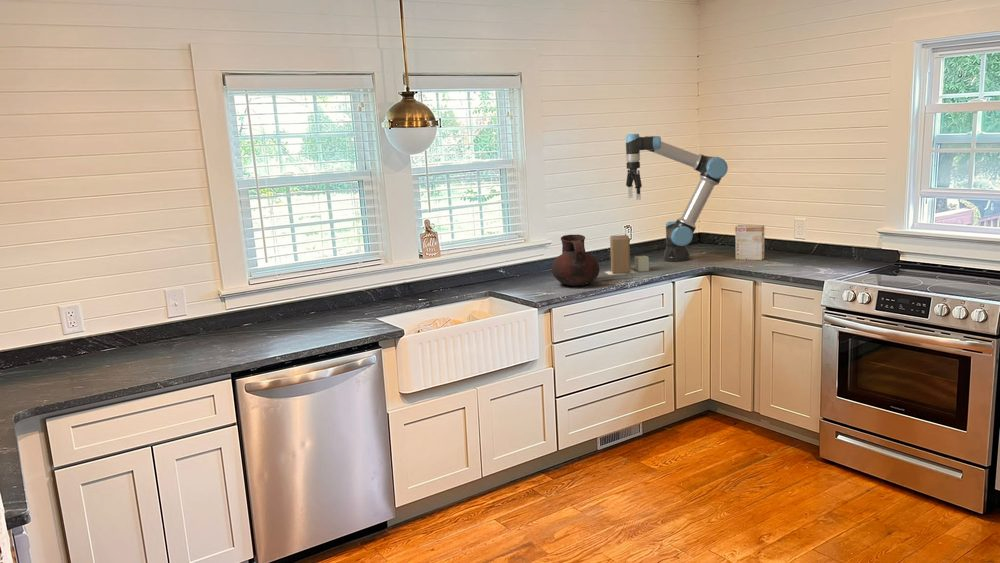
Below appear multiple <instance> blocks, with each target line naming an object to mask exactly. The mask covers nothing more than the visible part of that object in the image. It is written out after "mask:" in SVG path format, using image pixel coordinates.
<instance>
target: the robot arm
mask: <svg viewBox="0 0 1000 563" xmlns="http://www.w3.org/2000/svg"><path fill="white" fill-rule="evenodd" d="M640 151H648V152H652V153H654V154H657V155H660V156H662V157H664V158H667V159H670V160H673V161H676V162H678V163H681V164H683V165H686V166H689V167H691V168H693V170H694V171H696V172H699V173H700V174H699V179H700V180H699V182H698V184H697V185H696V188H695V190H694V192H693V193H692V195H691V197H690V200H689V202H688V203H687V205H686V207H685V210H684V211H683V213H682V215H681V217H678V218H677V219H676V221H667V222H666V223H665V242H666V243H665V246H666V247H665V250H664V254H663V261H666V262H684V261H685V262H686V261H689V260H690V258H691V257H690V252H689V249H688V247H687V246H688V245H689V244H690V243H692V241H693V236H694V232H695V230H696V228H697V227H696V222H697V220H698V219H699V217H700V215H701V213H702V210H704V208H705V205H706V203H707V201H708V199H709V198H710V196H711V194H712V191H713V189H714V187H715V186H717V185H719V184H720V182H721V180H722V178H723V177H725V176H726V174H727V172H728V171H729V170H728V168H729V167H728V163H727V161H726V160H725V159H724V158H722V157H719V156H708V155H704V154H702V153H699V154H697V153H693V152H691V151H688V150H686V149H682V148H680V147H678V146H676V145H675V146H674V145H672V144H670V143H666V142H664V141H662V139H661V136H659V135H650V136H649V135H648V136H647V135H646V136H640V134H639V133H629V134H626V136H625V153H626V154H625V158H626V169H627V176H626V182H625V183H626V184H625V186H626V187H627V199H633V198H634V197H633V196H634V193H633V187H634V185H635V187H634V189H635V190H634V192H635V201H639V200H641V199H642V198H641V188H642V187H643V185H642V181H641V174H640V170H639V169H640V168H641V162H640V160H641V154H640ZM633 183H634V185H633Z"/></svg>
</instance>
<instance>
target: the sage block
mask: <svg viewBox="0 0 1000 563" xmlns="http://www.w3.org/2000/svg"><path fill="white" fill-rule="evenodd" d="M649 262H650V258H649V256H647V255H639V256H636V255H635V256H634V271H636V272H638V273H640V272H649V271H650V263H649Z"/></svg>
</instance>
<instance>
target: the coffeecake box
mask: <svg viewBox="0 0 1000 563" xmlns="http://www.w3.org/2000/svg"><path fill="white" fill-rule="evenodd" d="M734 231H735V232H734V233H735V237H734V238H735V248H734V249H735V250H734V251H735V260H736V261H737V260H738V259H739V260H738V261H740V260H741V261H742V260H743V261H745V260H746V259H747V260H746V261H762V259H763V260H764V259H765V225H764V224H758V225H757V224H756V225H755V224H746V225H745V224H742V225H741V224H738V225H736V226H735V229H734Z"/></svg>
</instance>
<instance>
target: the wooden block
mask: <svg viewBox="0 0 1000 563" xmlns="http://www.w3.org/2000/svg"><path fill="white" fill-rule="evenodd" d="M630 239H631V238H630V237H629V236H628V234H627V235H626V234H625V235H611V236H610V237H609V240H610V242H609V244H610V246H609V248H610V271H612V273H613V274H617V275H620V274H619V273H628V274H631V273H630V269H631V247H630V246H631V245H630V244H631V243H630Z"/></svg>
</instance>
